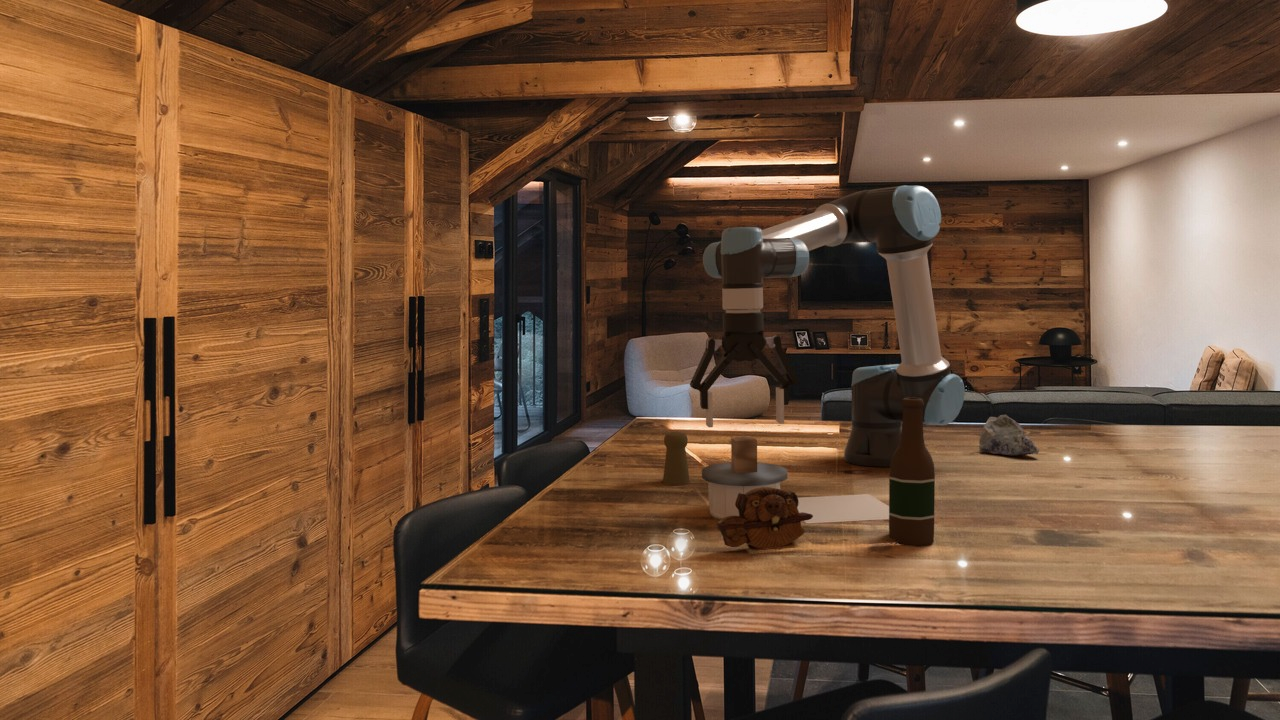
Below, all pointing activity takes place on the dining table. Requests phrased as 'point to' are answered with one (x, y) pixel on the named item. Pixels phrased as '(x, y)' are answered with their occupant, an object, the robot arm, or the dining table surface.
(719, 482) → the lid
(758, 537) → the wooden carving
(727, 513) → the bowl
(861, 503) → the mat
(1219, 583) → the dining table surface
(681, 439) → the cork
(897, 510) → the beer bottle
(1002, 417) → the mineral rock
